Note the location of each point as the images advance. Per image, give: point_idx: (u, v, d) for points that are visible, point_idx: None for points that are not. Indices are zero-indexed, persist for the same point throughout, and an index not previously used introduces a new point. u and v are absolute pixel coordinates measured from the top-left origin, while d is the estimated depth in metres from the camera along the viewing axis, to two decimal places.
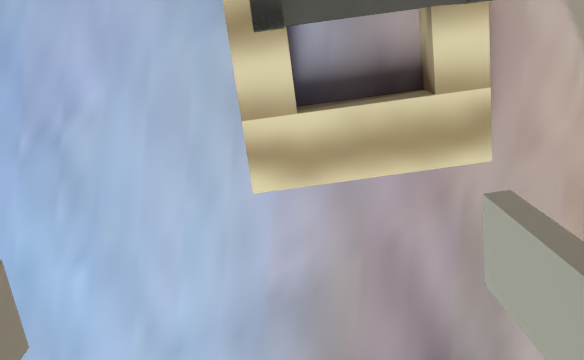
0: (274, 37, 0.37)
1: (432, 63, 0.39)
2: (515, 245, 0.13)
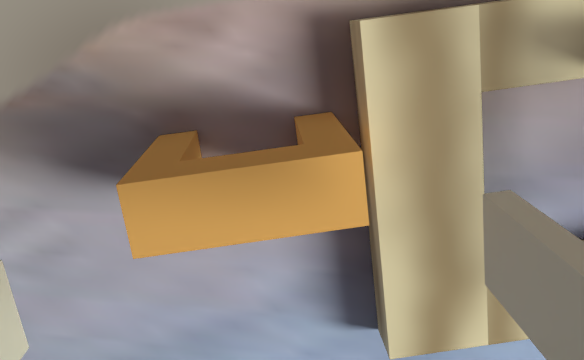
0: None
1: None
2: (515, 245, 0.13)
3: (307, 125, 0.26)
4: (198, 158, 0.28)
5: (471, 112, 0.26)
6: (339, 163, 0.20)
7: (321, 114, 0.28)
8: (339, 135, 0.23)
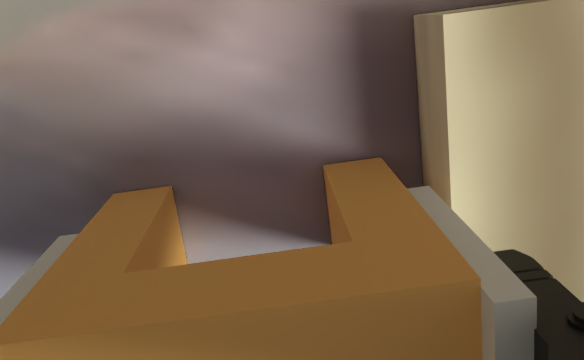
0: None
1: None
2: None
3: (348, 187, 0.16)
4: (172, 232, 0.18)
5: None
6: (433, 303, 0.10)
7: (365, 162, 0.18)
8: (413, 220, 0.13)
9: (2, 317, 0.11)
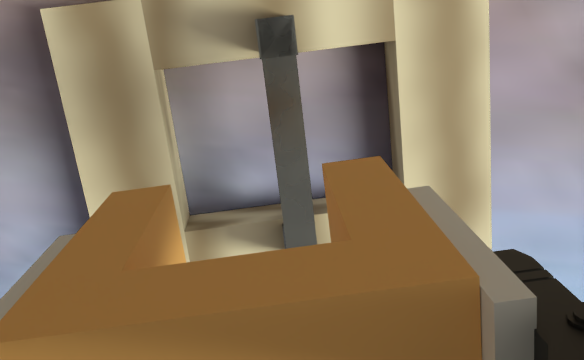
0: (321, 226, 0.34)
1: (357, 44, 0.32)
2: None
3: (347, 186, 0.16)
4: (171, 231, 0.18)
5: (148, 87, 0.31)
6: (431, 301, 0.10)
7: (364, 160, 0.18)
8: (412, 219, 0.13)
9: (2, 317, 0.11)
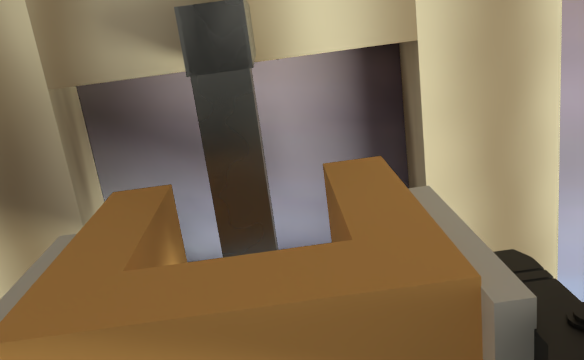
0: None
1: (358, 47, 0.21)
2: None
3: (348, 186, 0.16)
4: (172, 231, 0.18)
5: (41, 116, 0.21)
6: (433, 300, 0.10)
7: (365, 160, 0.18)
8: (413, 219, 0.13)
9: (2, 317, 0.11)
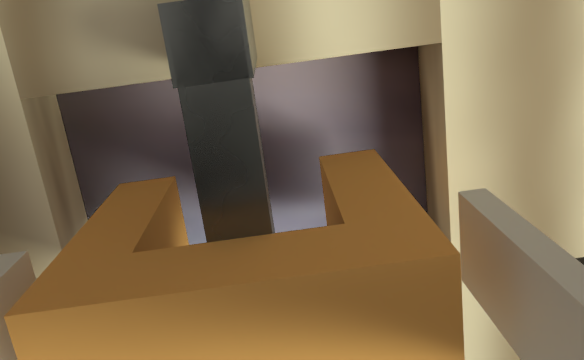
0: None
1: (373, 51, 0.18)
2: (487, 241, 0.13)
3: (342, 176, 0.17)
4: (176, 220, 0.19)
5: (12, 128, 0.18)
6: (417, 276, 0.11)
7: (359, 153, 0.19)
8: (402, 205, 0.14)
9: None
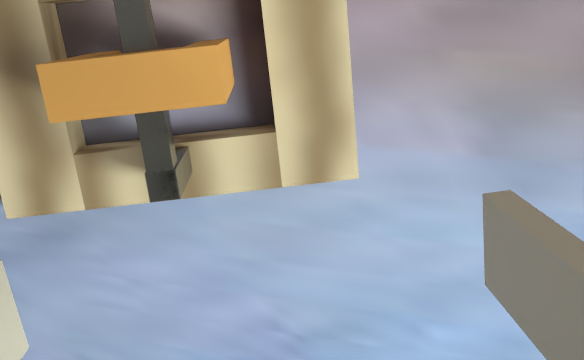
0: (199, 153, 0.38)
1: None
2: (515, 245, 0.13)
3: (200, 42, 0.33)
4: None
5: (33, 18, 0.35)
6: (201, 54, 0.28)
7: (219, 39, 0.36)
8: None
9: None
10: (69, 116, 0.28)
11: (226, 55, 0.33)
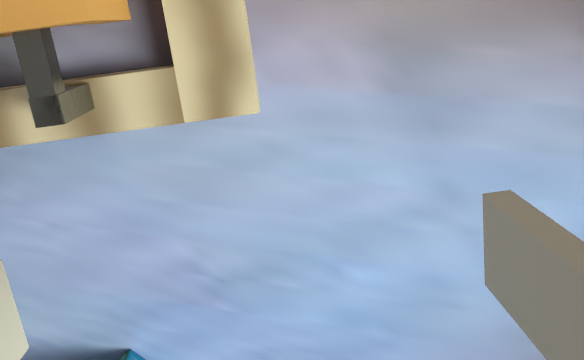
0: (100, 89, 0.38)
1: None
2: (515, 245, 0.13)
3: None
4: None
5: None
6: None
7: None
8: None
9: None
10: None
11: None
